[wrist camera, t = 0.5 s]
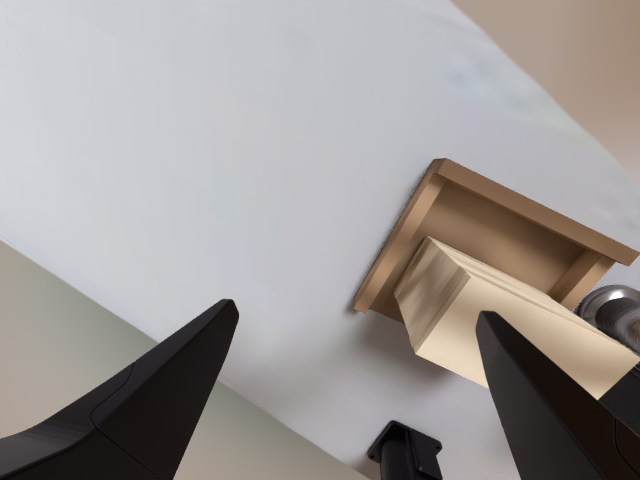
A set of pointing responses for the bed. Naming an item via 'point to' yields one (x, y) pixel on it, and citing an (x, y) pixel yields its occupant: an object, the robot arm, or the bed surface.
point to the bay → (491, 239)
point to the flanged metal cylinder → (614, 313)
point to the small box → (625, 397)
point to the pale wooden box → (509, 302)
